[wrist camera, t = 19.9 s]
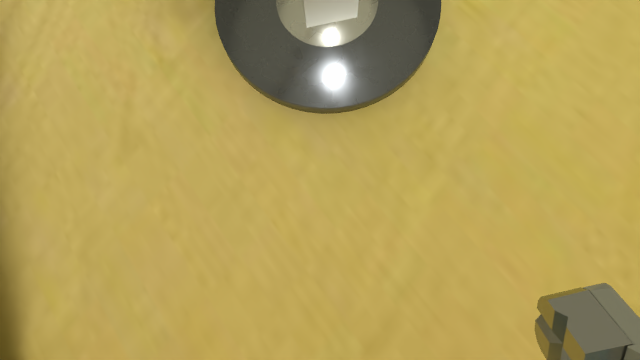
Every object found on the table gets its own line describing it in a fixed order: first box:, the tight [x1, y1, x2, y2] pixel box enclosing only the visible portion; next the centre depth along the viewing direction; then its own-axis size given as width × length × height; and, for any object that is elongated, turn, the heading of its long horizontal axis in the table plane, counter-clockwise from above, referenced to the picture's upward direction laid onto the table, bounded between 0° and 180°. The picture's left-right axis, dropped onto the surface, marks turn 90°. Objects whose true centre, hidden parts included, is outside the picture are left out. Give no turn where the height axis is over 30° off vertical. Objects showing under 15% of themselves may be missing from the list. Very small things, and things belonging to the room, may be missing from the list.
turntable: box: [215, 0, 441, 113], centre depth 43 cm, size 20×20×2 cm
